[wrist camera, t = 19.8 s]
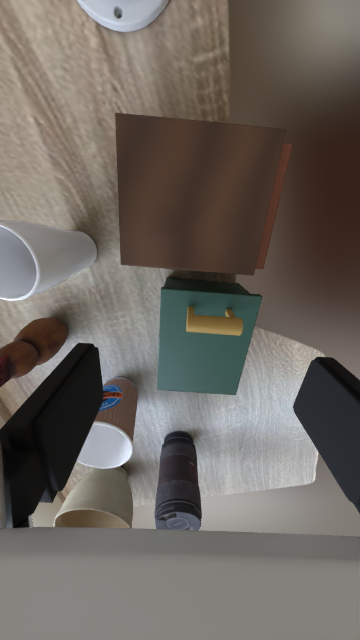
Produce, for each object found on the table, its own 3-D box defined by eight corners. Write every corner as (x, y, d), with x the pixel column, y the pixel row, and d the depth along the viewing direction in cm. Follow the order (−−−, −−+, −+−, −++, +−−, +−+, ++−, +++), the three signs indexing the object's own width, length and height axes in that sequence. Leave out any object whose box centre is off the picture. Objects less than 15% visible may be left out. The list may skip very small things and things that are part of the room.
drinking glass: (109, 239, 30) (49, 245, 16) (95, 279, 32) (31, 314, 19) (65, 215, 29) (-42, 200, 15) (53, 259, 31) (-49, 279, 17)
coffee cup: (132, 363, 39) (112, 415, 28) (153, 401, 43) (144, 460, 32) (85, 378, 40) (49, 433, 29) (110, 414, 44) (86, 474, 33)
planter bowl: (71, 453, 49) (43, 509, 39) (136, 452, 49) (125, 509, 39) (85, 491, 56) (64, 548, 46) (143, 491, 55) (135, 548, 45)
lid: (161, 286, 24) (156, 303, 19) (260, 294, 24) (280, 313, 19) (157, 386, 30) (153, 417, 25) (234, 391, 31) (244, 423, 26)
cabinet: (247, 167, 26) (286, 128, 17) (231, 262, 31) (254, 275, 21) (139, 157, 26) (114, 112, 16) (140, 254, 31) (120, 264, 21)
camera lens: (203, 442, 47) (212, 527, 34) (177, 456, 49) (176, 543, 36) (180, 423, 45) (180, 507, 31) (154, 439, 47) (143, 525, 33)
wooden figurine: (62, 351, 38) (-6, 418, 24) (33, 333, 36) (-58, 394, 23) (79, 325, 36) (14, 383, 22) (49, 306, 34) (-41, 355, 21)
